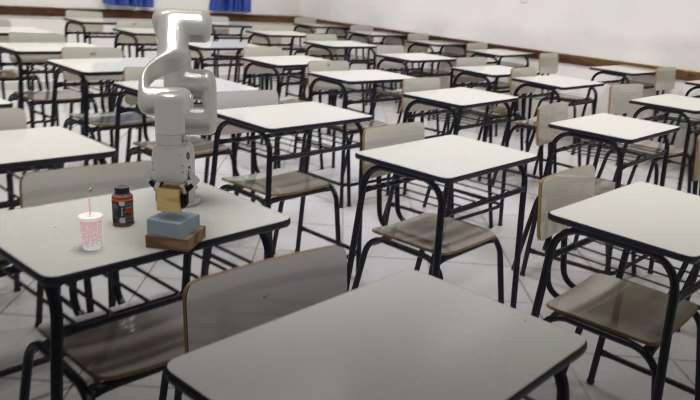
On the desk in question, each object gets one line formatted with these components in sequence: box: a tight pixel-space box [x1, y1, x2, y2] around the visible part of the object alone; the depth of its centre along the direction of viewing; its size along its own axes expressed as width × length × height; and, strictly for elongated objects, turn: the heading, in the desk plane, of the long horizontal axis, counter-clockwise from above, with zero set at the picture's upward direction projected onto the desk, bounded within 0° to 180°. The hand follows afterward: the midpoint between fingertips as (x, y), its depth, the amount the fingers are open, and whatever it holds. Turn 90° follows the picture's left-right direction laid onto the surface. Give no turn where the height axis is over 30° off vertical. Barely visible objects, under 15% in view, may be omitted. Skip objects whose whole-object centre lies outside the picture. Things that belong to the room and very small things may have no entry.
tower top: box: [146, 210, 201, 239], centre depth 187 cm, size 10×10×4 cm
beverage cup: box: [77, 196, 104, 252], centre depth 180 cm, size 6×6×14 cm
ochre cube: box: [155, 182, 188, 213], centre depth 185 cm, size 6×6×6 cm
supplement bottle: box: [111, 184, 135, 227], centre depth 200 cm, size 6×6×11 cm
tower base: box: [144, 224, 207, 253], centre depth 189 cm, size 12×12×4 cm
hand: (172, 205), depth 185 cm, fingers closed on ochre cube, 6 cm apart
